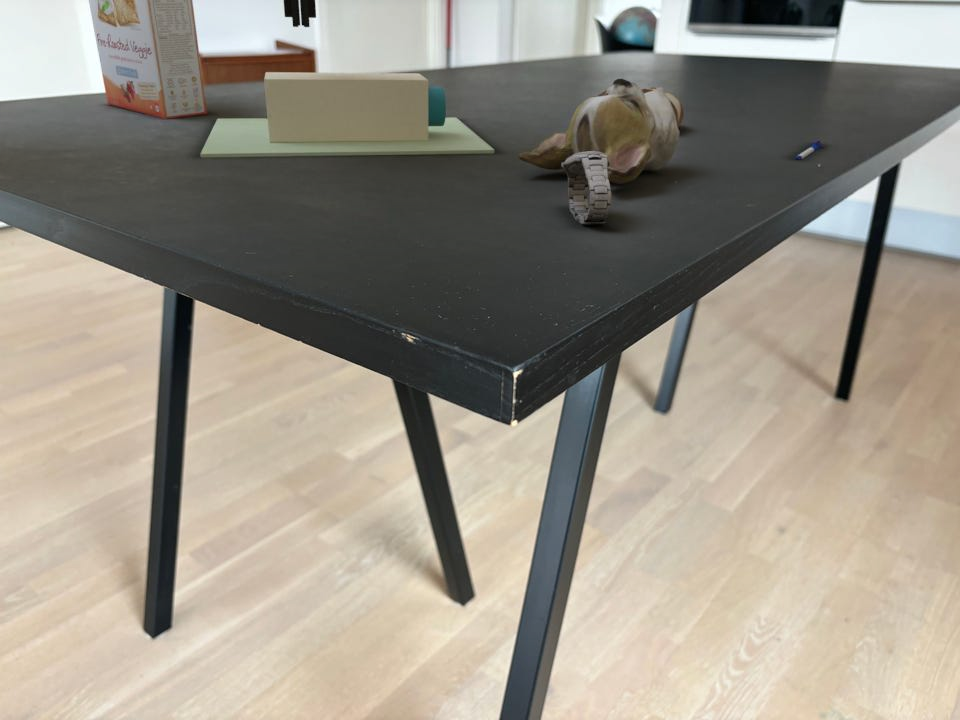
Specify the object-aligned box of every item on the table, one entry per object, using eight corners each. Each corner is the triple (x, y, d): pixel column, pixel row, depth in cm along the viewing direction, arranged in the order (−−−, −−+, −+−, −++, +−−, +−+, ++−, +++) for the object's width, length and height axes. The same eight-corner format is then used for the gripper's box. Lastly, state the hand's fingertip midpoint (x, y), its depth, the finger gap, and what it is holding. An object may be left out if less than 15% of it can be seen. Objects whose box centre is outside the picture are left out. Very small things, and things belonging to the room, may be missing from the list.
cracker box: (104, 106, 97) (69, -85, 88) (149, 102, 101) (121, -81, 92) (162, 121, 89) (131, -89, 79) (209, 115, 93) (184, -84, 84)
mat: (200, 159, 71) (200, 153, 71) (217, 122, 89) (217, 118, 88) (494, 154, 77) (494, 149, 77) (456, 121, 94) (456, 117, 94)
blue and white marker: (813, 147, 87) (815, 138, 87) (821, 148, 87) (823, 139, 86) (793, 163, 79) (795, 153, 79) (802, 164, 79) (804, 154, 78)
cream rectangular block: (264, 78, 74) (447, 80, 78) (265, 72, 79) (437, 73, 83) (269, 142, 77) (447, 140, 80) (270, 131, 82) (437, 130, 86)
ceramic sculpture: (718, 74, 67) (621, 98, 57) (705, 173, 71) (613, 211, 61) (615, 64, 73) (512, 85, 64) (609, 156, 77) (512, 188, 68)
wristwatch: (596, 209, 59) (602, 143, 57) (620, 233, 54) (628, 161, 52) (551, 209, 59) (556, 143, 57) (571, 233, 53) (578, 161, 51)
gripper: (191, -219, 62) (218, 26, 71) (375, -204, 66) (381, 30, 74) (200, -201, 69) (224, 22, 77) (367, -188, 72) (373, 25, 80)
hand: (301, 25), depth 75 cm, fingers closed
